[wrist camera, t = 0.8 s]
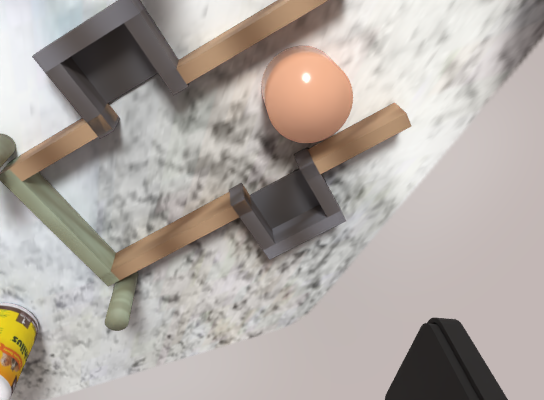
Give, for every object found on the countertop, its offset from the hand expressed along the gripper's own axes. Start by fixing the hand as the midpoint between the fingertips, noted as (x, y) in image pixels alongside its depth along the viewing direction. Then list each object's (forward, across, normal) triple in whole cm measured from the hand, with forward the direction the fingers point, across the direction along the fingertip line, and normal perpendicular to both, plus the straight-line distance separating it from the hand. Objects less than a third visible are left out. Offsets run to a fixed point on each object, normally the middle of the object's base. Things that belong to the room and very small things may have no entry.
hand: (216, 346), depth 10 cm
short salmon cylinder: (+27, -6, +1) cm, 28 cm away
